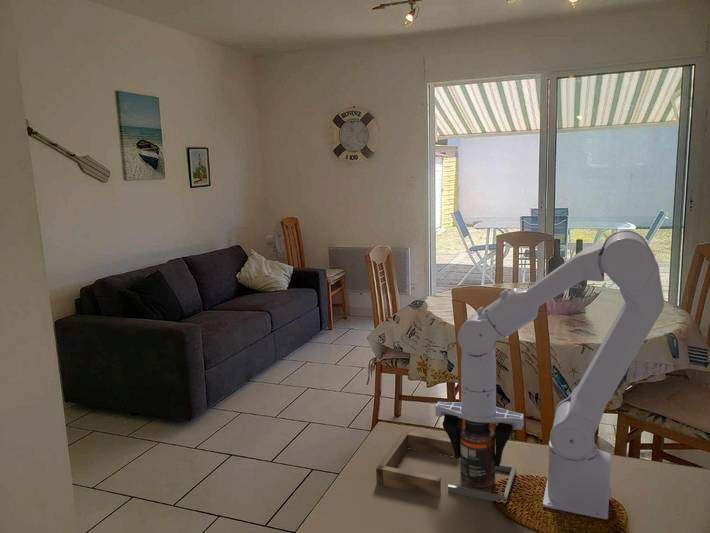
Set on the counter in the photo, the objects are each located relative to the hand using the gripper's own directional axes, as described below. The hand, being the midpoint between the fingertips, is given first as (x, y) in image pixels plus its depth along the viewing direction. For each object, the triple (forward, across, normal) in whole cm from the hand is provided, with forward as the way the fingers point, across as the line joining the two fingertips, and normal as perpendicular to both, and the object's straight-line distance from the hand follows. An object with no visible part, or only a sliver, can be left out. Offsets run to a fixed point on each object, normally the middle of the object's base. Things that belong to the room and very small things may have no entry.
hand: (478, 459), depth 95 cm
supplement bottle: (+4, 0, 0) cm, 4 cm away
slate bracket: (+4, 0, 0) cm, 4 cm away
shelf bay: (+4, +10, 0) cm, 11 cm away
